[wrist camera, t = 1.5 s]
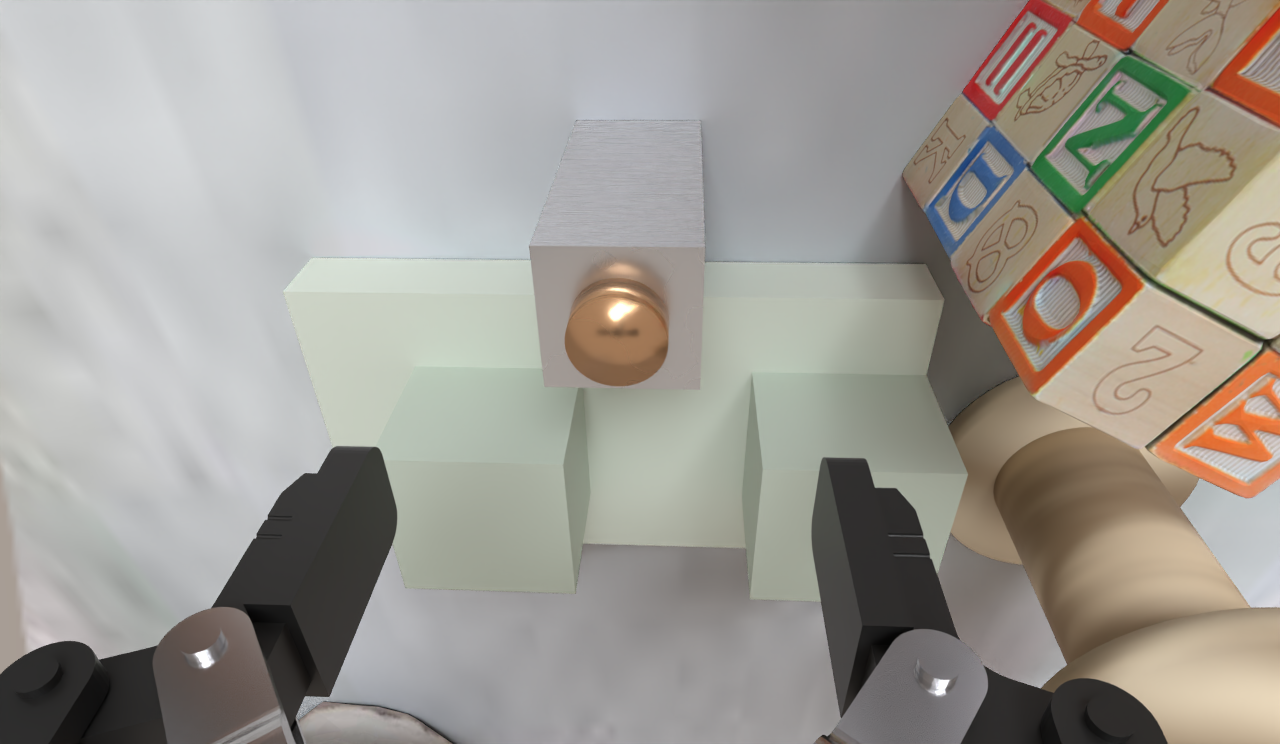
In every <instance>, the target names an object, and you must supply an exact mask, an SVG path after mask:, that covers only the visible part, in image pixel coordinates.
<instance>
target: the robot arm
mask: <svg viewBox="0 0 1280 744" xmlns="http://www.w3.org/2000/svg"><path fill="white" fill-rule="evenodd" d="M396 528H397V507H396V503H395V499H394V496H393V492H392V488H391V484H390V481H389V477H388V473H387V470H386V466H385V462H384V459H383V455H382V453H381V451H380V449H379V448H378V447H365V446H335V447H334V448H332V449H331V451H330V452H329V454H328V456H327V457H326V459H325V461H324V463H323V464H322V466H321V468H320V470H319V471H318V473H317V474H311V473H304V474H303V475H302V476H301V477H300V478H299V479H297V480H296V481H295V482H294V483H293V484H292V485H290V486H289V487H288V488H287V489H286V490H284V491H283V492H282V493H281V495H280V496H279V498H278V499H277V501H276V503H275V504H274V506H273V508H272V509H271V511H270V513H269V514H268V519H267V520H265V521H264V523H263V524H262V526H261V527H260V529H259V531H258V532H257V537H256V539H253V541H252V542H251V544H250V546H249V547H248V549H247V551H246V552H245V554H244V555H243V557H242V559H241V560H240V562H239V564H238V565H237V567H236V569H235V570H234V572H233V574H232V575H231V577H230V579H229V580H228V582H227V583H226V585H225V587H224V588H223V590H222V592H221V593H220V595H219V597H218V598H217V600H216V602H215V603H214V605H213V606H212V608H211V609H207V610H203V611H201V612H198V613H195V614H193V615H191V616H189V617H187V618H186V619H184V620H183V621H181V622H179V623H178V624H177V625H176V626H174V627H173V628H172V629H171V630H170V631H169V632H168V633H167V634H166V635H165V636H164V637H163V639H162V640H161V641H160V643H159V645H157V646H154V647H151V648H146V649H142V650H138V651H134V652H130V653H126V654H121V655H117V656H113V657H109V658H105V659H101V660H99V659H98V658H97V656H96V655H95V653H94V652H93V651H92V649H91V648H90V647H89V646H87V645H85V644H83V643H80V642H76V641H63V642H57V643H52V644H49V645H46V646H43V647H40V648H38V649H36V650H34V651H32V652H30V653H28V654H26V655H24V656H23V657H21V658H20V659H18V660H17V661H15V662H14V663H13V664H11V665H10V666H9V667H8V668H6V669H5V670H4V671H3V672H2V674H0V744H307V743H306V741H305V738H304V735H303V732H302V729H301V726H300V723H299V721H298V719H297V717H296V715H297V713H298V710H299V708H300V706H301V704H302V701H303V699H304V697H305V696H316V697H329V696H330V694H331V692H332V689H333V687H334V684H335V682H336V679H337V677H338V675H339V672H340V670H341V667H342V665H343V662H344V660H345V657H346V655H347V653H348V650H349V648H350V645H351V643H352V640H353V638H354V636H355V633H356V631H357V628H358V626H359V623H360V621H361V619H362V616H363V614H364V611H365V609H366V606H367V604H368V602H369V599H370V597H371V594H372V592H373V589H374V587H375V584H376V582H377V580H378V577H379V575H380V572H381V570H382V567H383V565H384V563H385V560H386V558H387V555H388V553H389V550H390V548H391V546H392V543H393V540H394V537H395V534H396ZM811 539H812V552H813V558H814V564H815V570H816V575H817V581H818V587H819V593H820V599H821V605H822V611H823V617H824V622H825V628H826V634H827V640H828V646H829V652H830V658H831V663H832V669H833V675H834V681H835V687H836V693H837V699H838V705H839V710H840V716H841V720H840V721H839V723H838V724H837V726H836V727H835V729H834V730H833V731H832V733H831V734H830V735H829V736H825V735H822V736H821V737H819V738H818V739H817V740H816V741H815V743H814V744H1168V742H1167V740H1166V738H1165V736H1164V734H1163V731H1162V729H1161V727H1160V726H1159V724H1158V722H1157V720H1156V719H1155V717H1154V716H1153V715H1152V713H1151V712H1150V711H1149V710H1148V709H1147V708H1146V707H1145V706H1144V705H1143V704H1142V703H1141V702H1140V701H1139V700H1137V699H1136V698H1135V697H1134V696H1132V695H1131V694H1129V693H1128V692H1126V691H1125V690H1123V689H1121V688H1119V687H1117V686H1115V685H1112V684H1110V683H1108V682H1104V681H1101V680H1097V679H1090V678H1078V679H1072V680H1069V681H1066V682H1064V683H1063V684H1061V685H1060V686H1059V687H1058V688H1057V689H1056V690H1055V692H1054V693H1053V692H1050V691H1046V690H1043V689H1040V688H1037V687H1034V686H1030V685H1027V684H1024V683H1021V682H1018V681H1015V680H1012V679H1009V678H1006V677H1004V676H1001V675H999V674H997V673H995V672H993V671H992V670H990V669H989V668H987V667H985V666H984V665H983V664H982V662H981V660H980V659H979V658H978V656H977V655H976V654H975V653H974V652H973V651H972V649H971V648H969V647H968V646H967V645H966V644H965V643H963V642H962V641H960V639H959V637H958V635H957V633H956V630H955V627H954V624H953V621H952V618H951V615H950V612H949V609H948V606H947V603H946V600H945V597H944V594H943V591H942V588H941V585H940V582H939V579H938V576H937V573H936V570H935V567H934V564H933V561H932V559H930V552H929V549H928V546H927V543H926V540H925V539H924V538H923V531H922V528H921V525H920V522H919V519H918V516H917V513H916V510H915V509H914V507H913V506H912V505H911V504H910V503H909V502H908V501H907V500H906V498H905V497H904V496H903V495H902V494H901V493H900V492H899V491H898V489H897V488H875V486H874V483H873V479H872V475H871V472H870V468H869V465H868V462H867V460H866V459H865V458H833V457H823V458H822V460H821V464H820V470H819V476H818V483H817V489H816V496H815V502H814V509H813V515H812V526H811Z"/></svg>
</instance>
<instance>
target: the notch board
mask: <svg viewBox="0 0 1280 744" xmlns="http://www.w3.org/2000/svg"><path fill="white" fill-rule="evenodd" d="M283 294H284V297H285V300H286V303H287V306H288V309H289V313H290V316H291V319H292V322H293V325H294V328H295V331H296V334H297V337H298V341H299V344H300V347H301V350H302V353H303V356H304V359H305V362H306V366H307V369H308V372H309V375H310V378H311V381H312V384H313V387H314V391H315V394H316V397H317V400H318V403H319V406H320V409H321V412H322V416H323V419H324V422H325V425H326V428H327V431H328V434H329V437H330V440H331V444H332V447H333V448H334V447H335V446H365V447H378V448H379V449H380V451H381V453H382V455H383V459H384V462H385V466H386V470H387V473H388V477H389V481H390V484H391V488H392V492H393V496H394V499H395V503H396V507H397V528H396V534H395V537H394V540H393V547H394V550H395V554H396V557H397V561H398V564H399V568H400V571H401V574H402V578H403V581H404V585H405V588H414V589H444V590H475V591H506V592H537V593H568V594H576V588H577V581H578V574H579V567H580V561H581V554H582V547H583V544H614V545H648V546H682V547H717V548H746V557H747V571H748V584H749V597H750V599H753V600H784V601H815V602H821V599H820V593H819V587H818V581H817V575H816V570H815V564H814V558H813V552H812V539H811V526H812V515H813V509H814V502H815V496H816V489H817V483H818V476H819V470H820V464H821V460H822V458H823V457H833V458H865V459H866V460H867V462H868V465H869V468H870V472H871V475H872V479H873V483H874V486H875V488H897V489H898V491H899V492H900V493H901V494H902V495H903V496H904V497H905V498H906V500H907V501H908V502H909V503H910V504H911V505H912V506H913V507H914V509H915V510H916V513H917V516H918V519H919V522H920V525H921V528H922V531H923V538H924V539H925V540H926V543H927V546H928V549H929V552H930V559H932V561H933V564H934V567H935V570H936V573H937V574H938V571H939V567H940V564H941V561H942V558H943V554H944V551H945V548H946V545H947V541H948V538H949V535H950V532H951V528H952V525H953V522H954V519H955V515H956V512H957V509H958V506H959V502H960V499H961V496H962V493H963V489H964V486H965V483H966V480H967V476H968V473H967V470H966V468H965V466H964V463H963V461H962V458H961V456H960V454H959V451H958V449H957V447H956V444H955V442H954V440H953V437H952V435H951V432H950V430H949V428H948V425H947V423H946V421H945V418H944V416H943V413H942V411H941V409H940V406H939V404H938V402H937V399H936V397H935V395H934V392H933V390H932V387H931V385H930V383H929V380H928V378H927V376H926V375H927V371H928V366H929V362H930V358H931V354H932V350H933V346H934V342H935V337H936V333H937V329H938V325H939V321H940V317H941V313H942V309H943V304H944V298H943V296H942V294H941V292H940V290H939V288H938V287H937V285H936V283H935V281H934V279H933V277H932V275H931V273H930V271H929V269H928V268H927V266H926V264H873V263H775V262H705V269H704V296H703V324H702V352H701V379H700V390H682V389H628V388H574V387H544V380H543V370H542V361H541V352H540V342H539V333H538V324H537V314H536V305H535V296H534V287H533V277H532V268H531V260H483V259H386V258H311V259H310V261H309V262H308V263H307V264H306V265H305V266H304V268H303V269H302V270H301V271H300V272H299V273H298V275H297V276H296V277H295V278H294V279H293V280H292V282H291V283H290V284H289V285H288V286H287V287H286V289H285V290H284V291H283Z"/></svg>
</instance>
